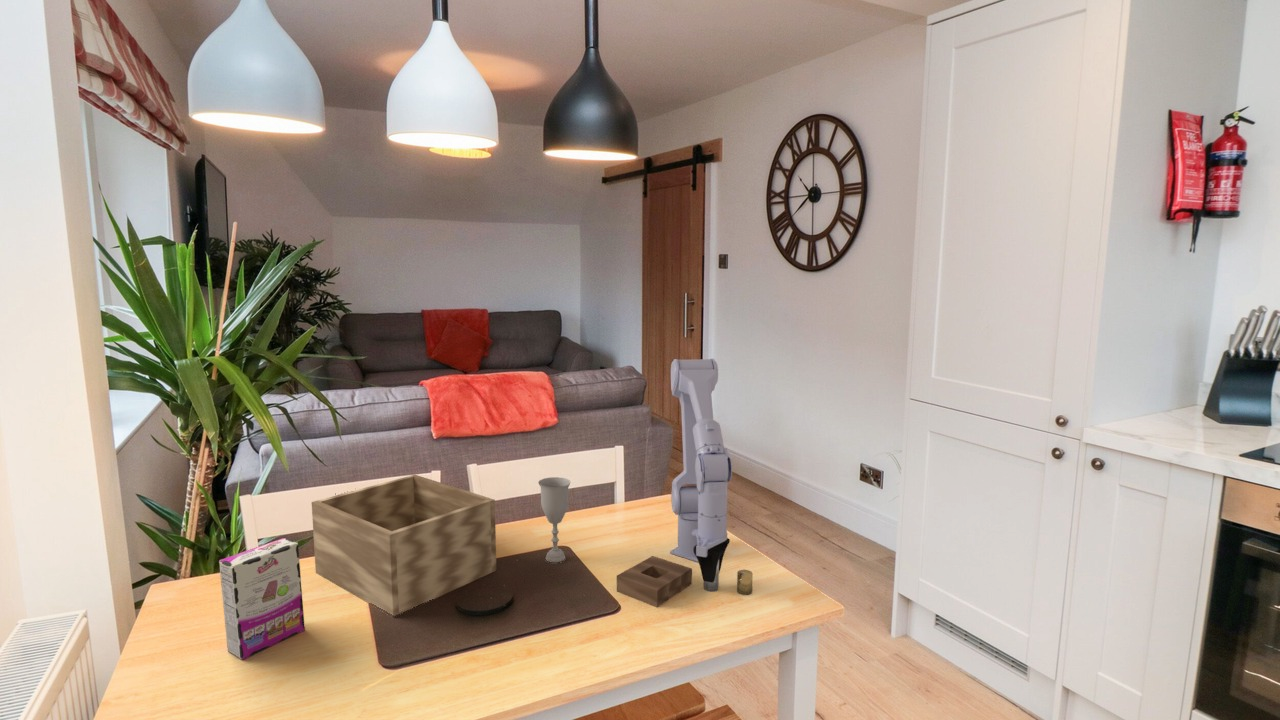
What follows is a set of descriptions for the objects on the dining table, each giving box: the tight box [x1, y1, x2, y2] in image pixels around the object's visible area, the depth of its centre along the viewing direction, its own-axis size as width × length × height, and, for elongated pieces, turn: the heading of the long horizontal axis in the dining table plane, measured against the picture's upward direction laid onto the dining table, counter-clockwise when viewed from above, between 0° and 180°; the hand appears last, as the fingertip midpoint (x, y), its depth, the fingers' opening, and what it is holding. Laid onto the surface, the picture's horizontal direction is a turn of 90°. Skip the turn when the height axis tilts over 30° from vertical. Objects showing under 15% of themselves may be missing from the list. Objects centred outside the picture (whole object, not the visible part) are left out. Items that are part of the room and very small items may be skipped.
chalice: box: [537, 476, 572, 562], centre depth 147 cm, size 7×7×18 cm
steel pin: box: [703, 561, 720, 593], centre depth 135 cm, size 3×3×7 cm
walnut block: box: [616, 555, 693, 608], centre depth 135 cm, size 12×10×4 cm
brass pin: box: [736, 569, 754, 596], centre depth 134 cm, size 3×3×4 cm
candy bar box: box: [218, 537, 306, 660], centre depth 114 cm, size 11×5×16 cm, turn 148°
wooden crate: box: [311, 474, 497, 615], centre depth 140 cm, size 24×28×16 cm
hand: (711, 577), depth 135 cm, fingers closed on steel pin, 3 cm apart
